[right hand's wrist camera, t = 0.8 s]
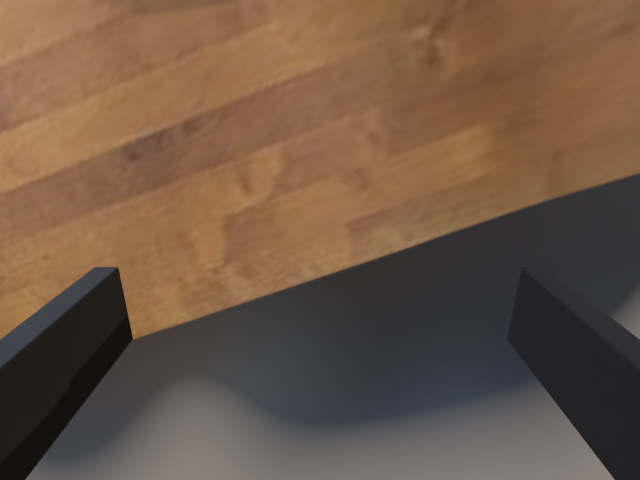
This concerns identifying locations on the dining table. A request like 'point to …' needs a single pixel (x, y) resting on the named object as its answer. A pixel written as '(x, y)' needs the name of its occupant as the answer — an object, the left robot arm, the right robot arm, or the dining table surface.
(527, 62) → the dining table surface
